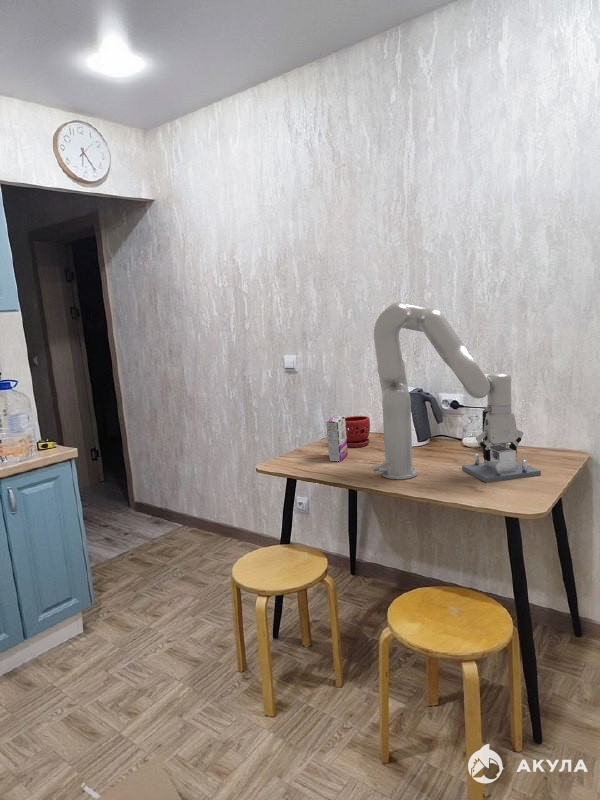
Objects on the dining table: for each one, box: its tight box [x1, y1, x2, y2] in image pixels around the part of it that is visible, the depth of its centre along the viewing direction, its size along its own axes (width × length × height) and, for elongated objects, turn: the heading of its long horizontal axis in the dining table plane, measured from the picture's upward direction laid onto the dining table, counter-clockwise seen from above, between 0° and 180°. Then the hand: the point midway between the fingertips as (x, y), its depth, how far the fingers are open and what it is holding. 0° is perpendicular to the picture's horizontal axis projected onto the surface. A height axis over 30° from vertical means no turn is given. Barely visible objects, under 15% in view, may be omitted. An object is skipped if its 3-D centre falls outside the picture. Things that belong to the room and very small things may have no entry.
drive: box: [483, 444, 517, 473], centre depth 187 cm, size 6×10×7 cm, turn 11°
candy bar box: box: [325, 415, 349, 463], centre depth 219 cm, size 11×5×16 cm, turn 160°
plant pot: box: [345, 415, 371, 448], centre depth 239 cm, size 13×13×12 cm
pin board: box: [461, 459, 542, 484], centre depth 188 cm, size 20×16×2 cm
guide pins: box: [474, 452, 528, 476], centre depth 187 cm, size 11×15×4 cm
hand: (500, 458), depth 187 cm, fingers open, 9 cm apart
